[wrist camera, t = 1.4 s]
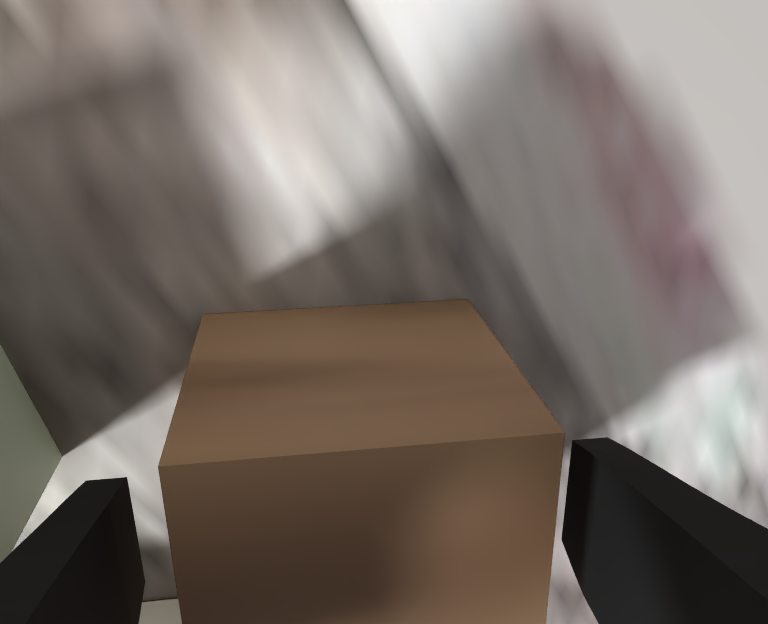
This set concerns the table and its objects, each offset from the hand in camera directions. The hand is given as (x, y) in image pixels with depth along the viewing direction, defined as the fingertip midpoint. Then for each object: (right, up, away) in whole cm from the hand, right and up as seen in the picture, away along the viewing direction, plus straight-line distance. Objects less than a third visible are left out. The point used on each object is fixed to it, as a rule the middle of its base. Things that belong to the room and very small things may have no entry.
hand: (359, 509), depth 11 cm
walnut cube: (0, +1, +3) cm, 3 cm away
